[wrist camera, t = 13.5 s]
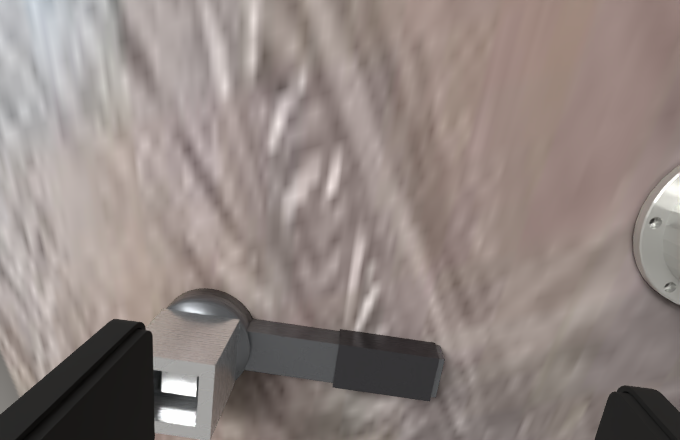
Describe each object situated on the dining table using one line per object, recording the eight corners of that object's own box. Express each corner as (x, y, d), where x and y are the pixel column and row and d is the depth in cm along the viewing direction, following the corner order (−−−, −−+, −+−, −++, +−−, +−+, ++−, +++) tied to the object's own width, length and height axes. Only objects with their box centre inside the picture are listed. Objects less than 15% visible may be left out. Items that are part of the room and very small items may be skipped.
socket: (239, 319, 34) (215, 365, 28) (234, 384, 35) (209, 440, 30) (163, 308, 34) (123, 352, 28) (161, 374, 35) (123, 428, 30)
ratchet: (445, 322, 36) (463, 370, 30) (426, 403, 38) (440, 463, 32) (164, 282, 36) (123, 321, 30) (162, 365, 38) (123, 417, 32)
